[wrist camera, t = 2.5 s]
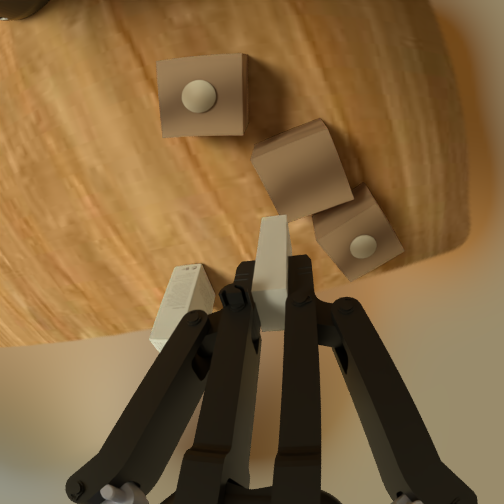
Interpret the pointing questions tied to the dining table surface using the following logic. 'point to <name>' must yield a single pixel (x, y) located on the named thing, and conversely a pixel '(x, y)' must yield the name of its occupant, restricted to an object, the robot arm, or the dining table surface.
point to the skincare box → (181, 301)
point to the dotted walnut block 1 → (203, 95)
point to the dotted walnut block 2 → (356, 234)
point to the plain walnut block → (302, 171)
